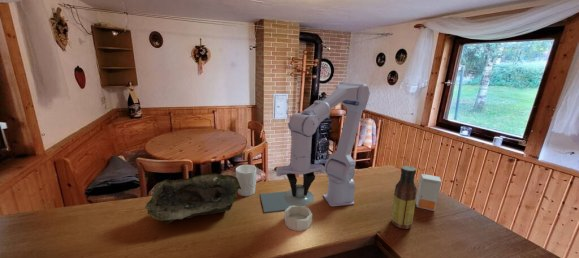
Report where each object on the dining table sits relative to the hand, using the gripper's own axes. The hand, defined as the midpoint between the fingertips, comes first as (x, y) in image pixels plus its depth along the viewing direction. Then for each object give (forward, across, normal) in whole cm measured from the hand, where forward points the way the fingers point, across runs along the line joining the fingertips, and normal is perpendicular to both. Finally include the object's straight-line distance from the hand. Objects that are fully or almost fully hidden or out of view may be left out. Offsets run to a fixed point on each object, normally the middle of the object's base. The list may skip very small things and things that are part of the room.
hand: (299, 194), depth 74 cm
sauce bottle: (+10, -33, +7) cm, 35 cm away
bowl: (+10, 0, 0) cm, 10 cm away
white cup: (+10, +15, -22) cm, 29 cm away
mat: (+10, +3, -13) cm, 17 cm away
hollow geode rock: (+10, +32, -10) cm, 35 cm away
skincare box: (+10, -49, 0) cm, 50 cm away
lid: (+1, 0, 0) cm, 1 cm away
